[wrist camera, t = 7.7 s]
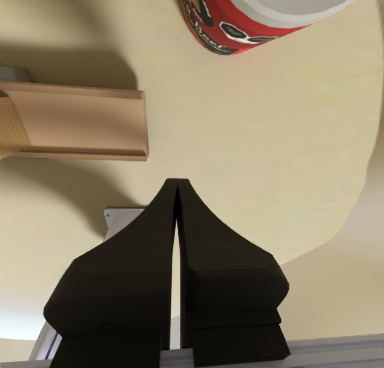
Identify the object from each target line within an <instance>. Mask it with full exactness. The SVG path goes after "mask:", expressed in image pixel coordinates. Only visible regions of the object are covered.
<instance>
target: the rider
mask: <svg viewBox="0 0 384 368" xmlns="http://www.w3.org/2000/svg"><path fill="white" fill-rule="evenodd" d="M29 146H31V144H30V141H29V139H28V137H27V135H26V133H25V130H24V128H23V126H22V124H21V122H20V119H19V117H18V115H17V113H16V111H15V108H14V106H13V104H12V102H11V100H10V97H4V96H0V160H1V159H3V158H5V157H7V156H10V155H12V154H14V153H16V152H18V151H20V150H23V149H25V148H27V147H29Z"/></svg>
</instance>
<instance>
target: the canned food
mask: <svg viewBox="0 0 384 368" xmlns="http://www.w3.org/2000/svg"><path fill="white" fill-rule="evenodd" d="M354 1H356V0H182V8H183V12H184V16H185V20H186V22H187V24H188V27H189V29H190V31H191V33H192V34H193V36H194V37H195V39H196V40H197V41H198V42H199V43H200V44H201V45H202V46H203V47H204V48H206V49H208V50H209V51H211V52H213V53H216V54H219V55H233V54H238V53H241V52H243V51H246V50H248V49H251V48H254V47H256V46H259V45H261V44H264V43H266V42H269V41H272V40H274V39H277V38H279V37H282V36H284V35H287V34H290V33H292V32H295V31H297V30H300V29H302V28H305V27H307V26H310V25H312V24H313V23H316V22H318V21H321V20H323V19H326V18H328V17H330V16H331V15H333V14H334V13H336V12H338V11H340V10H341V9H343V8H345V7H346V6H348V5H349V4H351V3H353V2H354Z"/></svg>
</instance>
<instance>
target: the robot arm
mask: <svg viewBox="0 0 384 368" xmlns="http://www.w3.org/2000/svg"><path fill="white" fill-rule="evenodd" d="M108 214H109V215H108ZM104 215H105V219H106V223H107V226H108V232H107V234H106V237H105V239H104V241H103V243H101V244H100V245H98V246H96V247H95V248H93V249H91V250H90V251H88V252H86V253H85V254H83V255H81V256H79V257H78V258H76V259H74V260H73V262H72V263H71V265H70V266H69V267H68V269H67V270H66V272H65V273H64V275H63V276H62V278H61V279H60V281H59V283H58V285H57V286H56V288H55V290H54V291H53V293H52V295H51V297H50V298H49V300H48V302H47V304H46V305H45V307H44V311H43V315H44V318H45V319H46V322H45V324H44V326H43V328H42V330H41V332H40V334H39V337H38V339H37V341H36V343H35V346H34V348H33V350H32V352H31V355H30V358H29V360H28V361H19V362H6V363H0V368H384V333H382V334H370V335H356V336H343V337H331V338H318V339H305V340H291V341H286V340H285V338H284V335H283V333H282V331H281V328H280V326H279V324H280V323H281V318H280V315H279V313H278V311H277V307H278V306H279V305H280V303H281V302H282V301H283V300H284V298H285V297H286V295H287V293H288V291H289V283H288V281H287V279H286V277H285V275H284V274H283V272H282V270H281V268H280V266H279V265H278V263H277V261H276V260H275V258H274V257H273V255H272V254H270V253H268V252H267V251H265V250H263V249H262V248H260V247H258V246H256V245H255V244H253V243H251V242H250V241H248V240H247V239H245V238H244V237H242V236H241V235H239V234H238V233H236V232H235V231H234V230H232V229H231V228H230V227H228V226H227V225H226V224H225V223H223V222H222V221H221V220H220V219H219V218H218V217H217V216H216V215H215V214H214V213H213V212H212V211H211V210H210V209H209V208H208V207H207V206H206V205H205V204H204V202H203V201H202V200H201V198H200V197H199V196H198V194H197V193H196V191H195V190H194V188H193V187H192V185H191V183H190V181H189V180H188V179H178V178H167V179H166V181H165V183H164V184H163V186H162V188H161V189H160V191H159V192H158V194H157V195H156V196H155V198H154V199H153V200H152V201H151V203H150V204H149V205H148V206H147V207H146V208H145V209H108V208H107V209H105V210H104ZM176 220H177V227H178V237H179V247H180V335H181V336H180V349H175V350H170V326H171V288H172V255H173V245H174V237H175V228H176Z"/></svg>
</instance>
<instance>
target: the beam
mask: <svg viewBox="0 0 384 368" xmlns="http://www.w3.org/2000/svg"><path fill="white" fill-rule="evenodd" d="M0 96H4V97H10V100H11V102H12V104H13V106H14V108H15V111H16V113H17V115H18V117H19V119H20V122H21V124H22V126H23V128H24V130H25V133H26V135H27V137H28V139H29V141H30V144H31V146H29V147H27V148H25V149H23V150H20V151H18V152H16V153H14V154H12V155H10V156H7V157H19V158H56V159H87V160H118V161H146V160H147V158H148V155H149V145H148V131H147V117H146V102H145V91H137V90H124V89H110V88H97V87H83V86H70V85H56V84H42V83H31V81H30V79H29V76H28V73H27V71H26V68H17V67H5V66H0Z"/></svg>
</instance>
